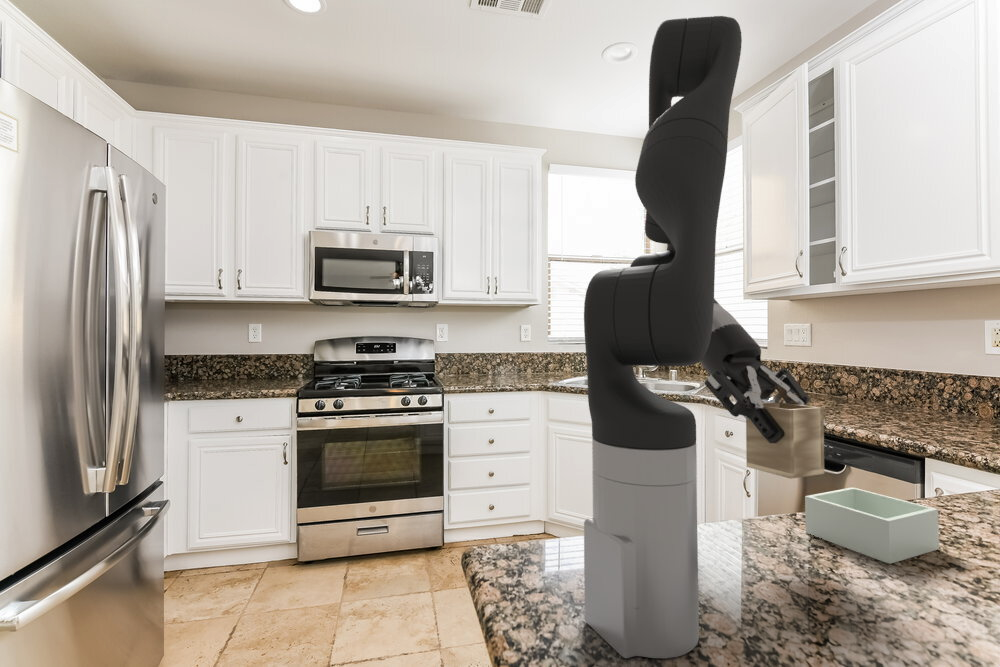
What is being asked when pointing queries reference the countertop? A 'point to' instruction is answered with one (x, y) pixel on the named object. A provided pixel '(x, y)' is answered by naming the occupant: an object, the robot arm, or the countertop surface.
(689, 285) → the robot arm
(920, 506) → the sage crate
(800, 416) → the birch crate
